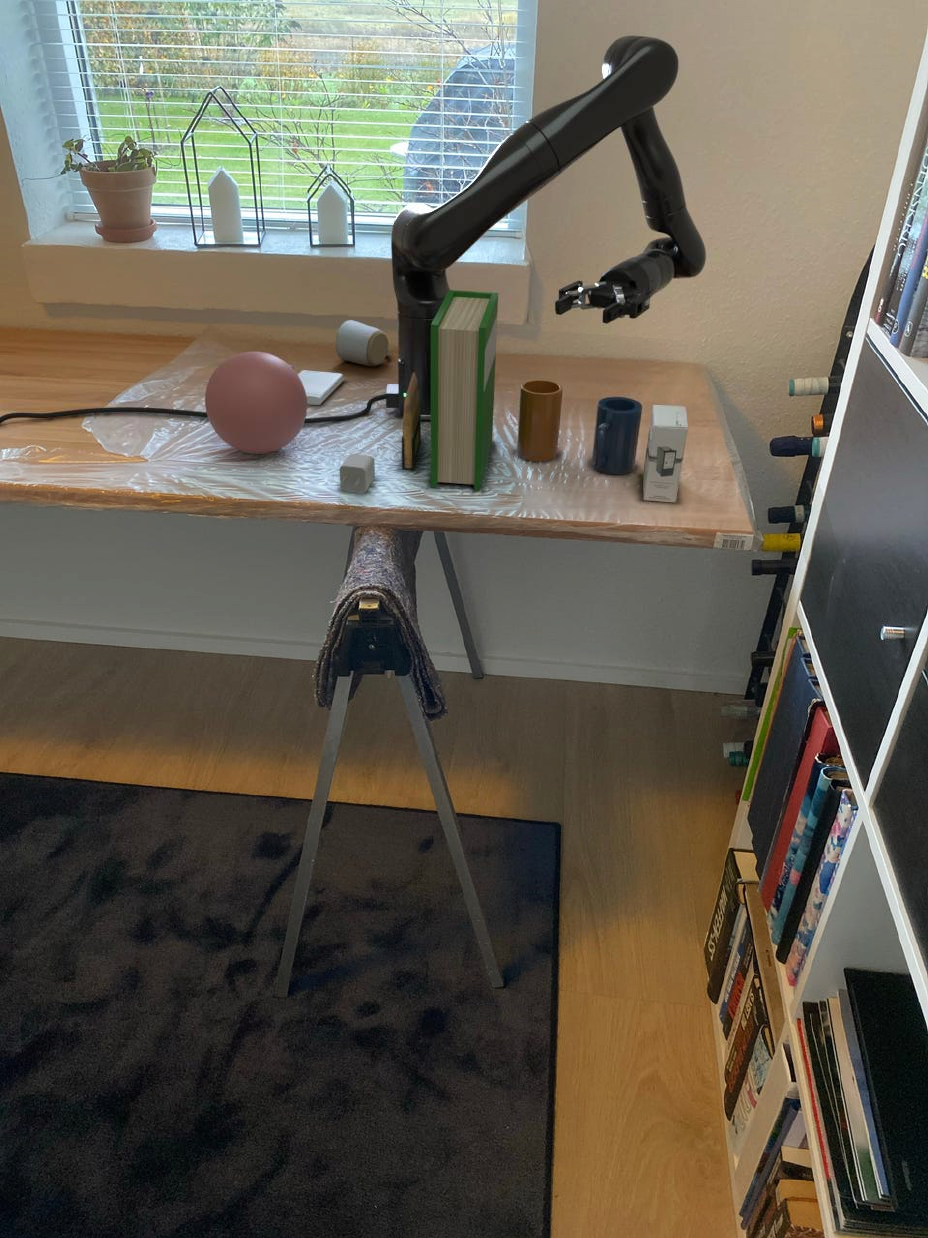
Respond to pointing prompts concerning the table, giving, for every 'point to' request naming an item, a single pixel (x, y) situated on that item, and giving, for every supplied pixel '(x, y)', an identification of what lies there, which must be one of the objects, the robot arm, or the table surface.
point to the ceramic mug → (361, 343)
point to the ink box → (664, 453)
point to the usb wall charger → (357, 473)
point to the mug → (616, 435)
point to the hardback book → (462, 386)
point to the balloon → (256, 402)
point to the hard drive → (319, 385)
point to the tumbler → (539, 420)
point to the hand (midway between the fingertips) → (580, 312)
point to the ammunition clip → (411, 426)
